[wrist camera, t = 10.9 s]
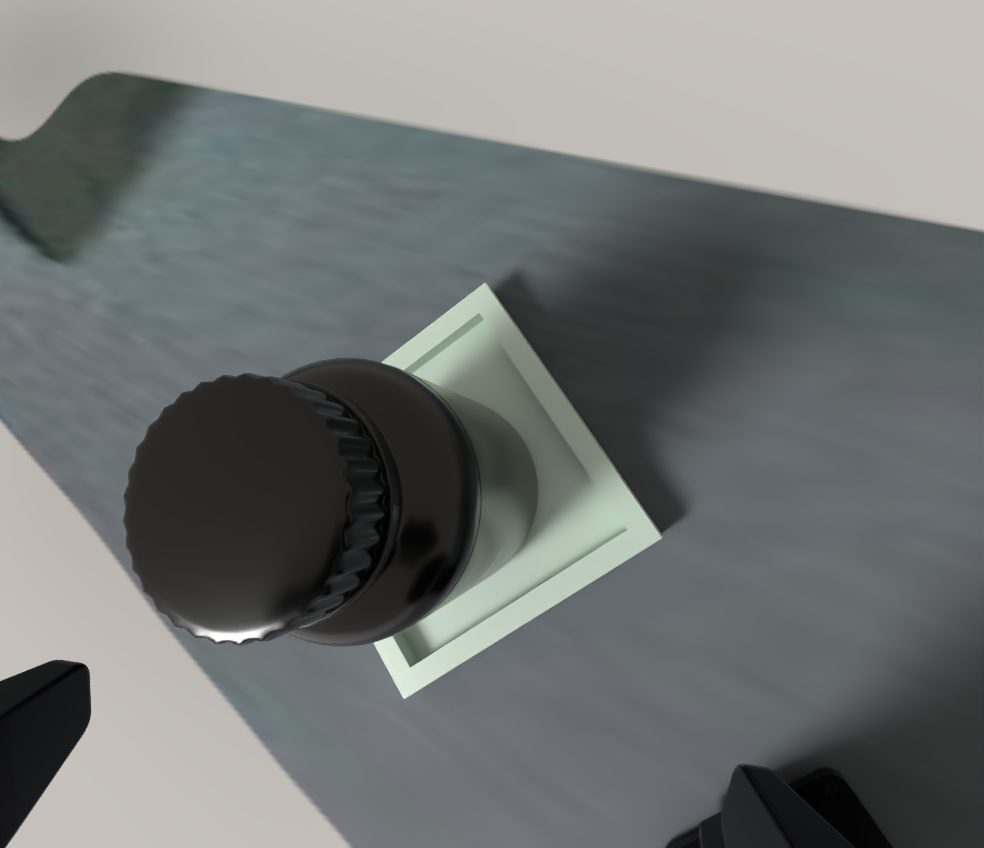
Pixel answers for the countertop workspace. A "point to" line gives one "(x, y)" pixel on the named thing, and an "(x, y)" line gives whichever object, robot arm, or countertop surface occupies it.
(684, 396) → the countertop surface
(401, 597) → the supplement bottle
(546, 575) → the sage tray
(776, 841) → the robot arm
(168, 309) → the countertop surface
